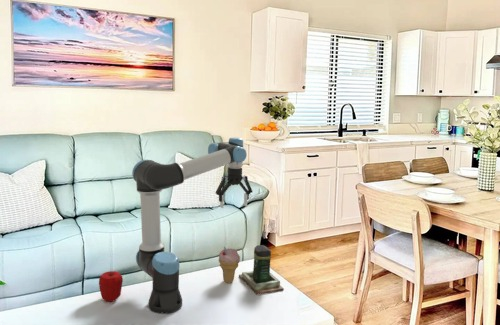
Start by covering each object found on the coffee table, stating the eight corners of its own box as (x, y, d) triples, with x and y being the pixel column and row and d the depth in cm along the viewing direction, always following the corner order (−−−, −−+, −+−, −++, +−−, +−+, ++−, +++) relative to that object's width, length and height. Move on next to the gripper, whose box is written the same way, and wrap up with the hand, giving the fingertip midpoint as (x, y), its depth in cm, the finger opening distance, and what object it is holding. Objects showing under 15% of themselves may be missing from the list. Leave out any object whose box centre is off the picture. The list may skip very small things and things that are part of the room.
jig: (256, 294, 208) (256, 288, 207) (238, 276, 227) (239, 270, 227) (283, 290, 214) (283, 283, 213) (264, 272, 234) (264, 266, 233)
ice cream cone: (236, 287, 215) (237, 249, 211) (215, 284, 217) (216, 247, 214) (241, 278, 225) (242, 242, 222) (221, 275, 227) (222, 239, 224)
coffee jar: (271, 284, 217) (273, 250, 214) (256, 286, 215) (258, 251, 212) (265, 276, 226) (266, 243, 223) (250, 278, 224) (252, 244, 221)
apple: (125, 301, 196) (125, 274, 193) (102, 306, 190) (101, 278, 188) (119, 292, 205) (119, 265, 202) (97, 296, 199) (96, 269, 197)
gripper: (215, 169, 215) (213, 210, 218) (259, 167, 225) (257, 206, 229) (210, 166, 222) (209, 206, 225) (253, 165, 232) (252, 203, 235)
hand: (233, 206), depth 227 cm, fingers open, 13 cm apart
